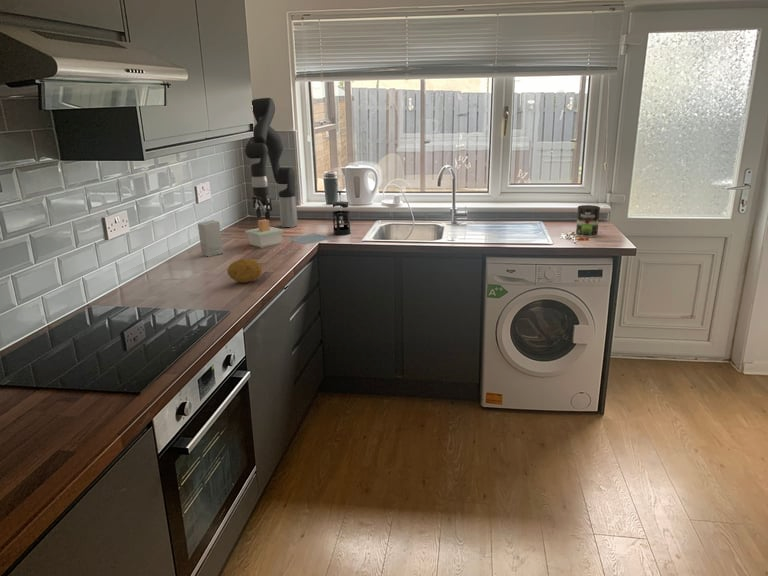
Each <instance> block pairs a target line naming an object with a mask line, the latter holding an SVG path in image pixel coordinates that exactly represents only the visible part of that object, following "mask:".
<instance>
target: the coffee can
mask: <svg viewBox="0 0 768 576" xmlns="http://www.w3.org/2000/svg"><path fill="white" fill-rule="evenodd" d="M600 209H601V206H599V205H594V204H593V205H592V204H587V205H585V204H583V205H582V204H581V205H578V206H577V214H576V215H577V217H576V227H575V228H576V230H575V235H576V236H578V237H581V238H594V237H595V238H596V237H598V230H599V219H600Z"/></svg>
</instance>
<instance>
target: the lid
mask: <svg viewBox="0 0 768 576" xmlns="http://www.w3.org/2000/svg"><path fill="white" fill-rule="evenodd" d="M270 225H271V224H270V219H269V220H266V219H265V218H264V219H259V220H257V226H258V227H257V228H252V229H247V230H245V231H244V233H245V234H247V235H248V234H250V235H254V236H257V237H262V236H267V235H273V234H278V233H285V230H284V229H281V228H277V227H275V226H274V227H273V226H270Z"/></svg>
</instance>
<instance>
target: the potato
mask: <svg viewBox="0 0 768 576" xmlns="http://www.w3.org/2000/svg"><path fill="white" fill-rule="evenodd" d="M227 275H228V276H229V277H230V278H231V279H232V280H233V281H236V282H237V283H238V282H239V283H241V284H245V283H246V284H247V283H252V282H253V281H255V280H257V279H258V278H259V277H261V275H262V265H261V264H260V263H259V262H258V261H257V260H255V259H252V258H241V259H238V260H235V261H234V262H232V263H231V264H230V265H229V266H228V268H227Z"/></svg>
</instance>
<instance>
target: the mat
mask: <svg viewBox="0 0 768 576" xmlns="http://www.w3.org/2000/svg"><path fill="white" fill-rule="evenodd" d="M332 239H334V237H332V236H331V237H330V236H325V235H322V234H318V233H309V234H304V235H299V236H295V237H294V236H293V237H289V238H285V240H286V241H287V240H288V241H290V242H294V243H297V244H301V245H309V244H314V243H318V242H323V241H328V240H332Z"/></svg>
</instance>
